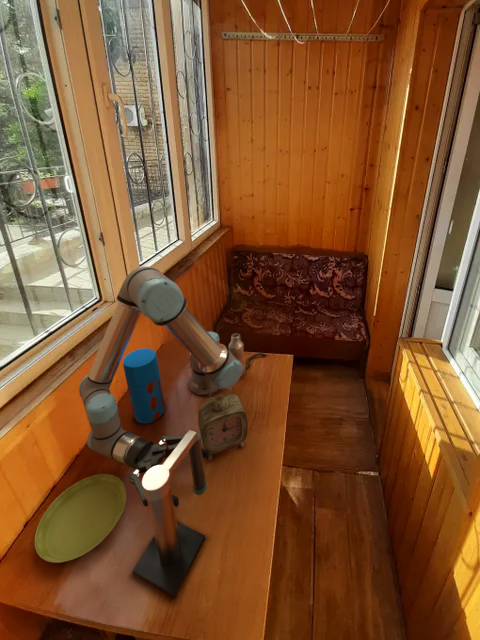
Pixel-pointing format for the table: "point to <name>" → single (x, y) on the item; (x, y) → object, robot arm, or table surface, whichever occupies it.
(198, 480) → the spout
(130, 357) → the thermos
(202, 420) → the tabletop clock
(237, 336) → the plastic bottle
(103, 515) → the green plate
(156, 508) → the standpipe
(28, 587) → the table surface
